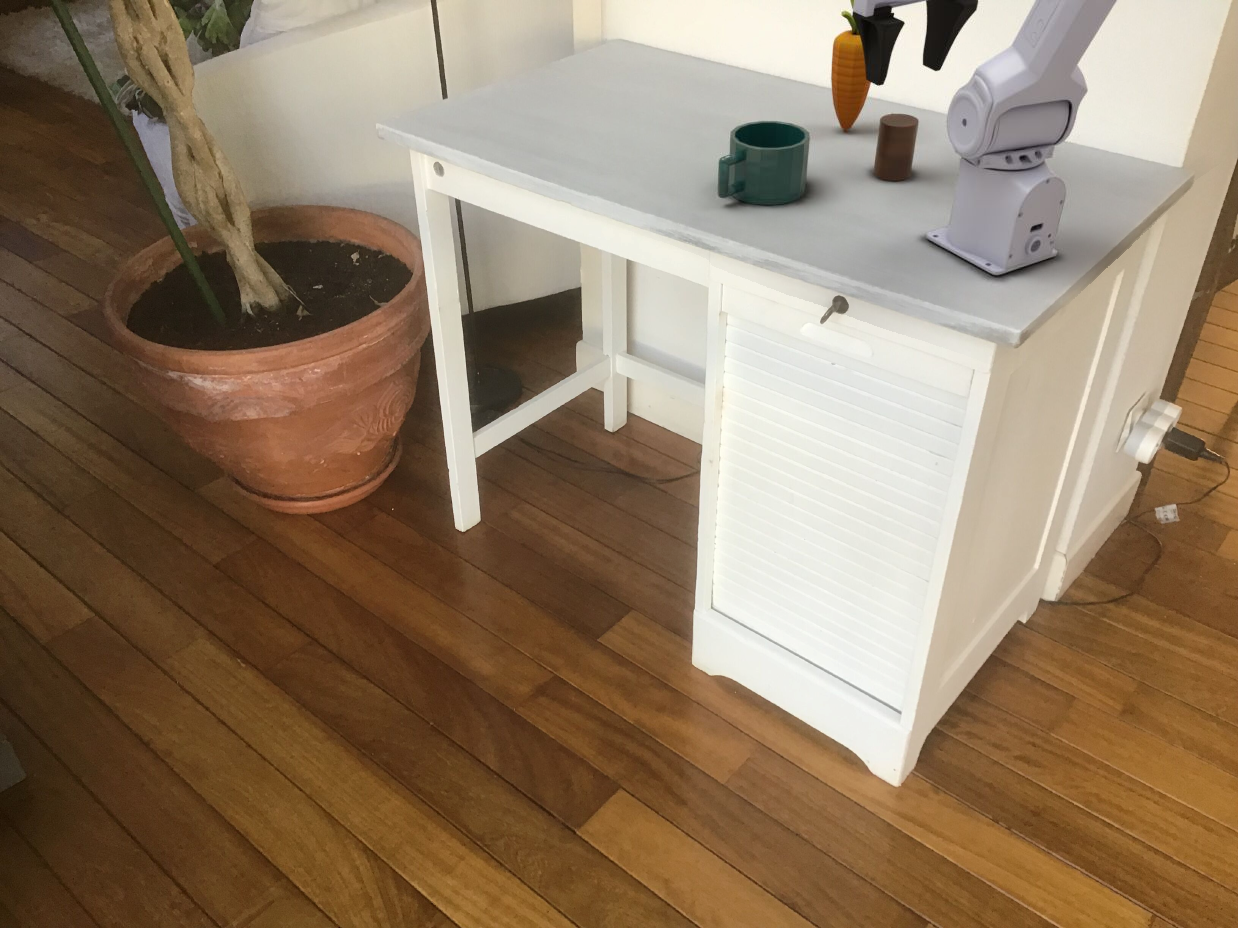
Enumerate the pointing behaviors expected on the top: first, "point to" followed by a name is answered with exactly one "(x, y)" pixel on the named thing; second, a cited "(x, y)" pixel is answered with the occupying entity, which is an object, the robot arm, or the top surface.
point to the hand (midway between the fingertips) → (903, 75)
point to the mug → (765, 163)
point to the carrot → (848, 74)
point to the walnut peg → (895, 147)
